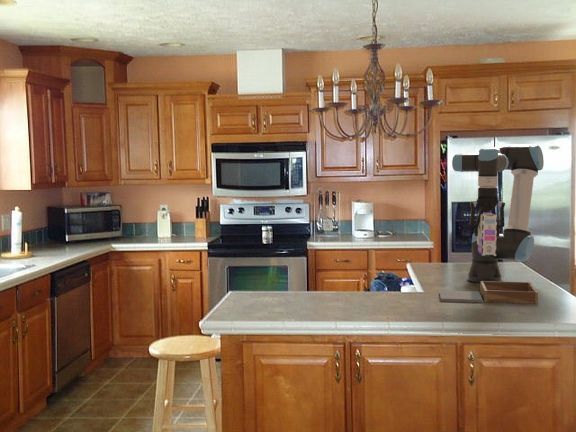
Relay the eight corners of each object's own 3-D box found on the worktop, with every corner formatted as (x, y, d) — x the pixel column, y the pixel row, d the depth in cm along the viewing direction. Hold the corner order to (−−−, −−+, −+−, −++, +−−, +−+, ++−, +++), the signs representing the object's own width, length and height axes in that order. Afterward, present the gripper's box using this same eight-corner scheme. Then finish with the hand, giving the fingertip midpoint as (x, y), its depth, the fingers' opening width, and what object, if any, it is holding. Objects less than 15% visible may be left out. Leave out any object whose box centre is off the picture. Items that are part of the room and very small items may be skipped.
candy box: (496, 256, 256) (497, 214, 255) (481, 256, 257) (482, 214, 256) (491, 251, 270) (492, 212, 268) (477, 251, 271) (477, 211, 269)
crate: (480, 291, 277) (480, 281, 277) (529, 293, 273) (529, 282, 273) (484, 301, 258) (484, 290, 257) (537, 303, 253) (538, 292, 253)
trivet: (439, 293, 275) (439, 290, 275) (479, 294, 271) (479, 291, 271) (440, 301, 259) (440, 298, 259) (482, 302, 256) (482, 299, 256)
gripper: (464, 187, 259) (463, 245, 261) (513, 187, 256) (512, 245, 258) (462, 186, 266) (461, 242, 268) (510, 186, 263) (509, 243, 265)
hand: (486, 244), depth 263 cm, fingers closed on candy box, 6 cm apart
